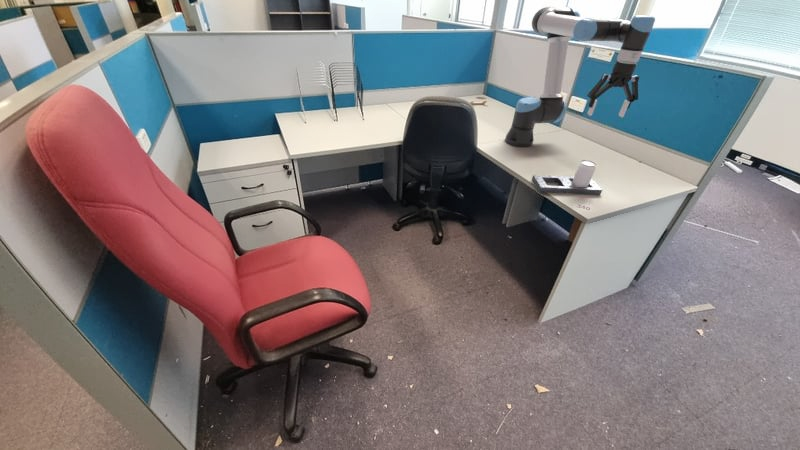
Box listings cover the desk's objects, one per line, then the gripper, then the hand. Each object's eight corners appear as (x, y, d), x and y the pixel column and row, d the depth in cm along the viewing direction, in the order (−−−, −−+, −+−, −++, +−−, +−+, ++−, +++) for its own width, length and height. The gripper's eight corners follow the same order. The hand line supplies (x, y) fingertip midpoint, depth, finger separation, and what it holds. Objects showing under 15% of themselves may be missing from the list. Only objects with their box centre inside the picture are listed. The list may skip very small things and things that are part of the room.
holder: (531, 179, 150) (533, 175, 148) (588, 182, 149) (591, 177, 148) (539, 192, 141) (540, 187, 139) (600, 195, 141) (602, 189, 139)
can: (583, 193, 141) (594, 167, 134) (568, 187, 145) (578, 162, 138) (588, 187, 145) (599, 163, 138) (573, 182, 149) (583, 158, 142)
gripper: (599, 62, 127) (579, 117, 140) (664, 65, 127) (638, 119, 140) (591, 58, 133) (572, 111, 146) (652, 61, 133) (629, 114, 146)
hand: (605, 115), depth 143 cm, fingers open, 13 cm apart
